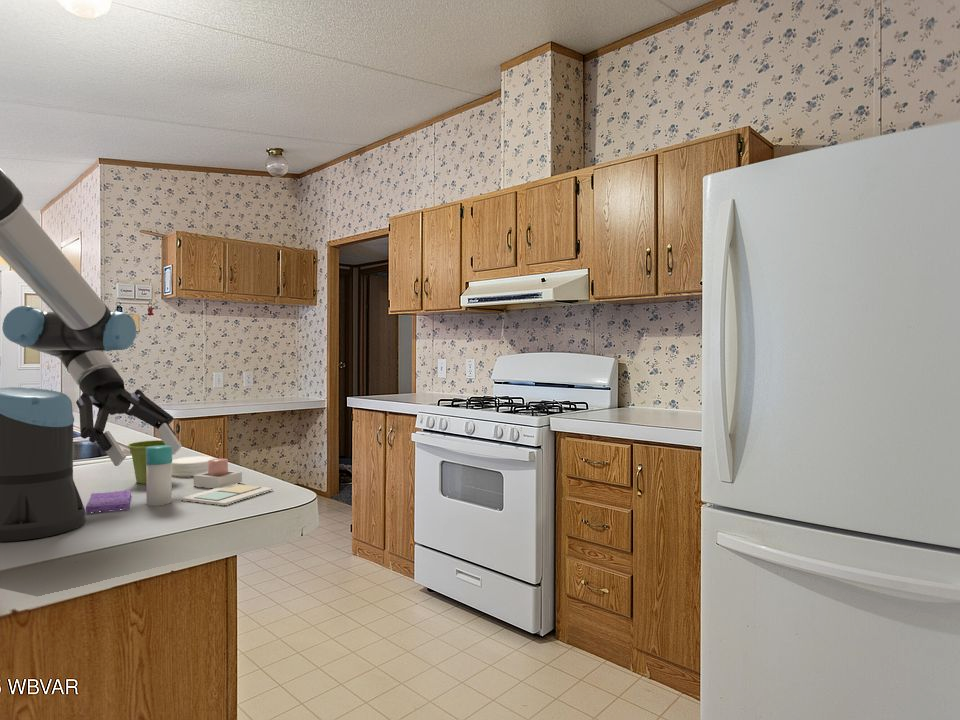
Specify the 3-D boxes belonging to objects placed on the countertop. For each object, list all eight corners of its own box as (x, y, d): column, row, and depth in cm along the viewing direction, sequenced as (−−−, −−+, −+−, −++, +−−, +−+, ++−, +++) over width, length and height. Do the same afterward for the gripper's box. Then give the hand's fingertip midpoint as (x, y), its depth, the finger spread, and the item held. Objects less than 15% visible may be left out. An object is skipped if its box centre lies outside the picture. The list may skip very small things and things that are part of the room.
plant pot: (160, 486, 137) (160, 446, 137) (118, 485, 137) (118, 446, 137) (182, 477, 147) (182, 440, 146) (142, 476, 147) (142, 440, 147)
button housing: (218, 489, 134) (218, 477, 134) (193, 486, 137) (193, 475, 137) (241, 483, 141) (241, 472, 141) (217, 480, 143) (217, 469, 143)
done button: (218, 478, 136) (218, 462, 136) (204, 476, 138) (204, 461, 138) (231, 474, 140) (231, 459, 140) (217, 473, 141) (217, 458, 141)
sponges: (85, 516, 114) (85, 506, 114) (91, 501, 125) (91, 492, 125) (129, 512, 118) (129, 502, 118) (131, 497, 129) (131, 488, 129)
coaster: (175, 479, 145) (175, 464, 145) (165, 472, 153) (165, 458, 153) (220, 474, 151) (220, 460, 151) (208, 468, 159) (208, 454, 159)
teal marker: (158, 507, 120) (158, 449, 119) (140, 504, 121) (140, 448, 121) (177, 501, 124) (177, 446, 124) (160, 499, 125) (160, 444, 125)
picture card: (224, 506, 120) (224, 502, 120) (181, 500, 124) (181, 497, 124) (272, 490, 134) (272, 487, 134) (232, 486, 137) (232, 483, 137)
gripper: (138, 386, 143) (188, 457, 139) (27, 393, 120) (82, 479, 115) (156, 364, 141) (207, 435, 137) (47, 367, 118) (104, 453, 113)
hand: (150, 455), depth 126 cm, fingers open, 13 cm apart
